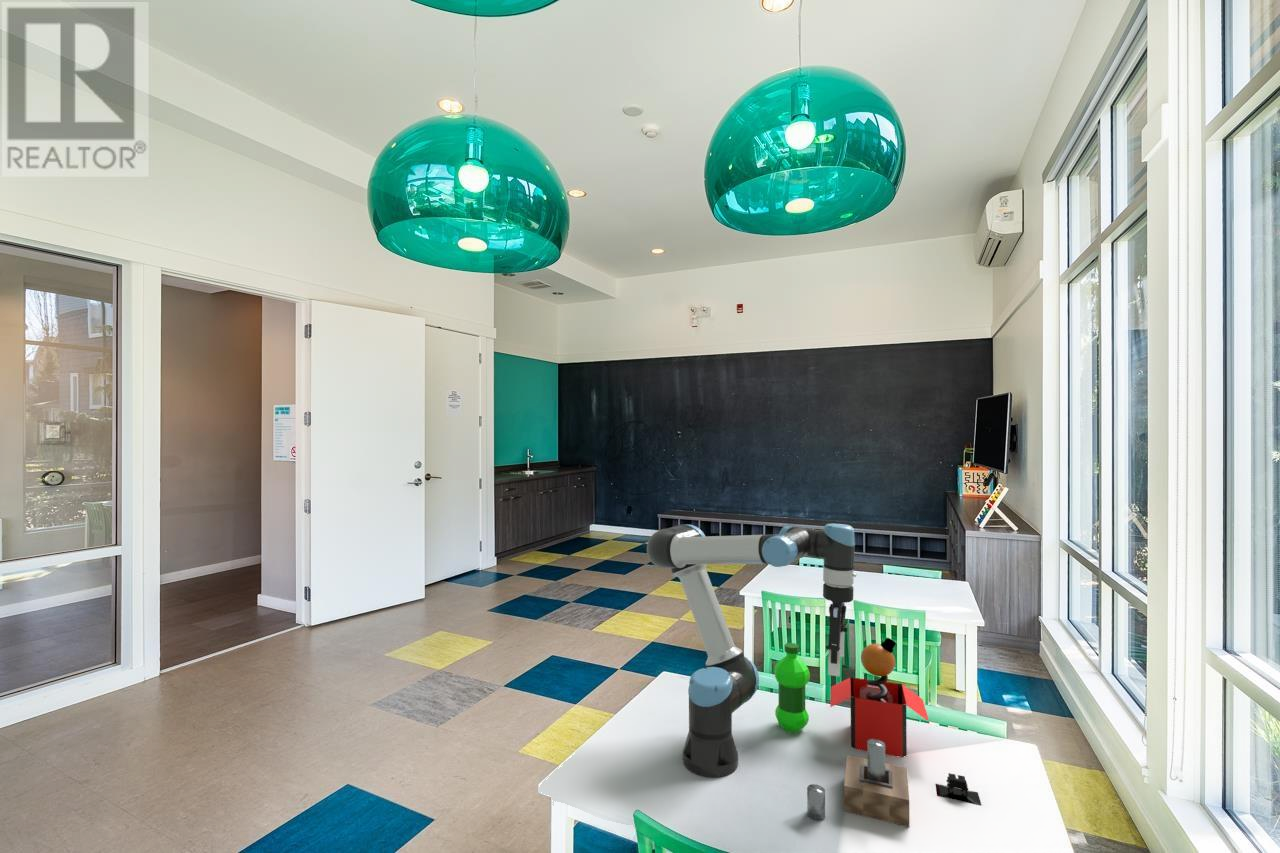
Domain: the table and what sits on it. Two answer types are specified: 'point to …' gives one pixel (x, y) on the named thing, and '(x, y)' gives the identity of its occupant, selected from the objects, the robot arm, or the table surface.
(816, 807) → the short pin
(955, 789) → the black notched mounting plate
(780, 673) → the plastic bottle
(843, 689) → the jack-in-the-box
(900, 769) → the hole block
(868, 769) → the long pin
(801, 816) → the table surface
